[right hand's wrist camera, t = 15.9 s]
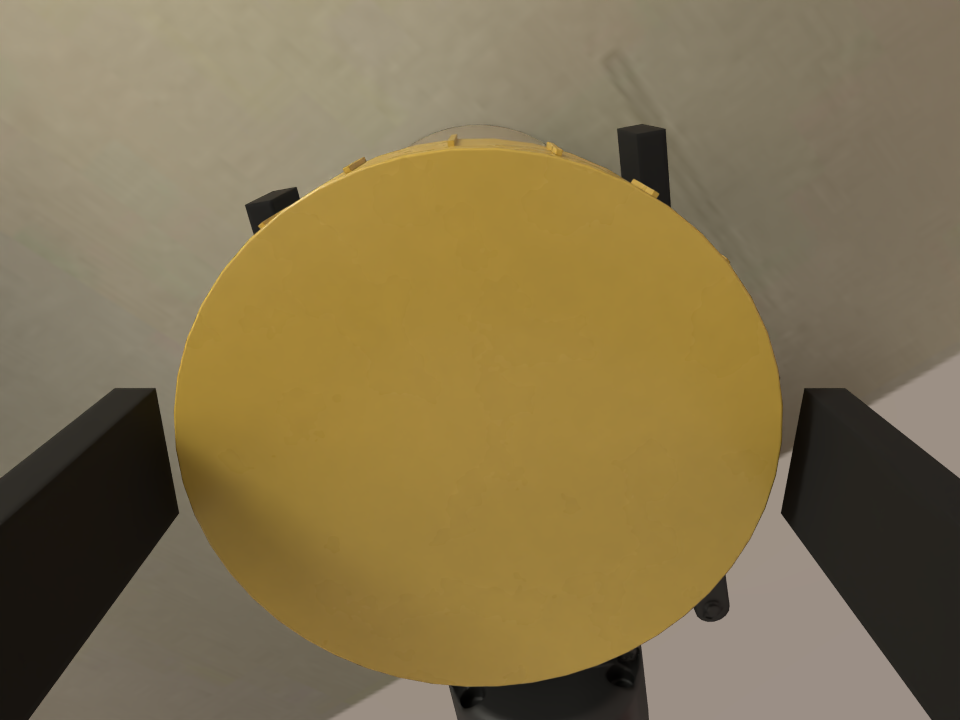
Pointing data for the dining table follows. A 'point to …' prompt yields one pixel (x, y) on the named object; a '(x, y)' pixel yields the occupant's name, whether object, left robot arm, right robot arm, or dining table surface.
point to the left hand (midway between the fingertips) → (452, 162)
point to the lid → (478, 414)
